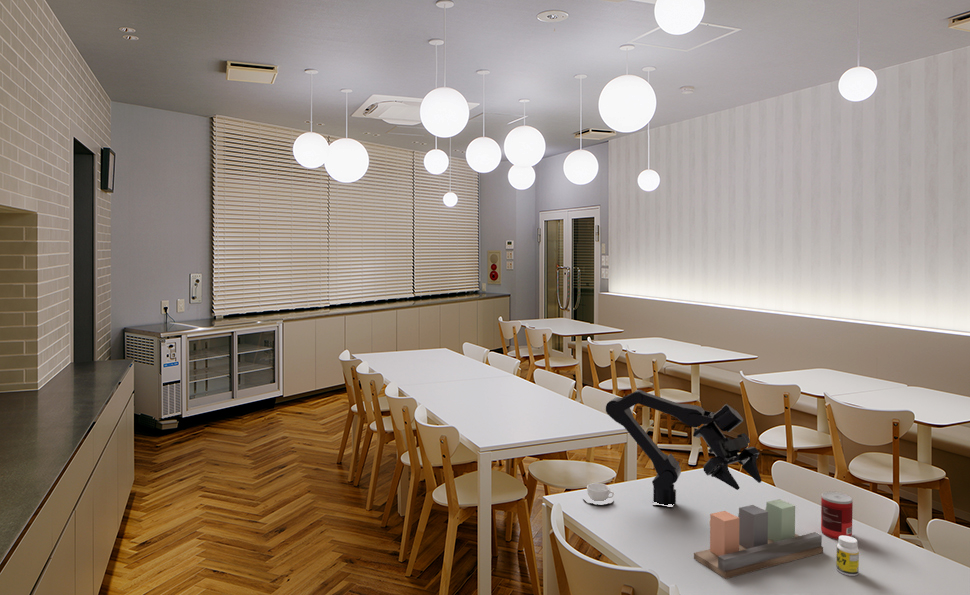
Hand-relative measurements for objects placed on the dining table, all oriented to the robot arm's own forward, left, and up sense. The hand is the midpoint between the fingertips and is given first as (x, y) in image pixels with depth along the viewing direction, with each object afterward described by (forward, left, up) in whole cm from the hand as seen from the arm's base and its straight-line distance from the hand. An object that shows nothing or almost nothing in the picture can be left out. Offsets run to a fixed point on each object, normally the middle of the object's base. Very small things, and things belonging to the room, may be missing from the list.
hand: (749, 485), depth 170 cm
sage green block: (+8, -9, -11) cm, 16 cm away
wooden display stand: (+2, -17, -13) cm, 21 cm away
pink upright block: (-7, -23, -11) cm, 26 cm away
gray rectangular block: (0, -16, -11) cm, 19 cm away
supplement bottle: (+22, -18, -13) cm, 31 cm away
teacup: (-45, +5, -13) cm, 48 cm away
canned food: (+23, +5, -13) cm, 27 cm away
